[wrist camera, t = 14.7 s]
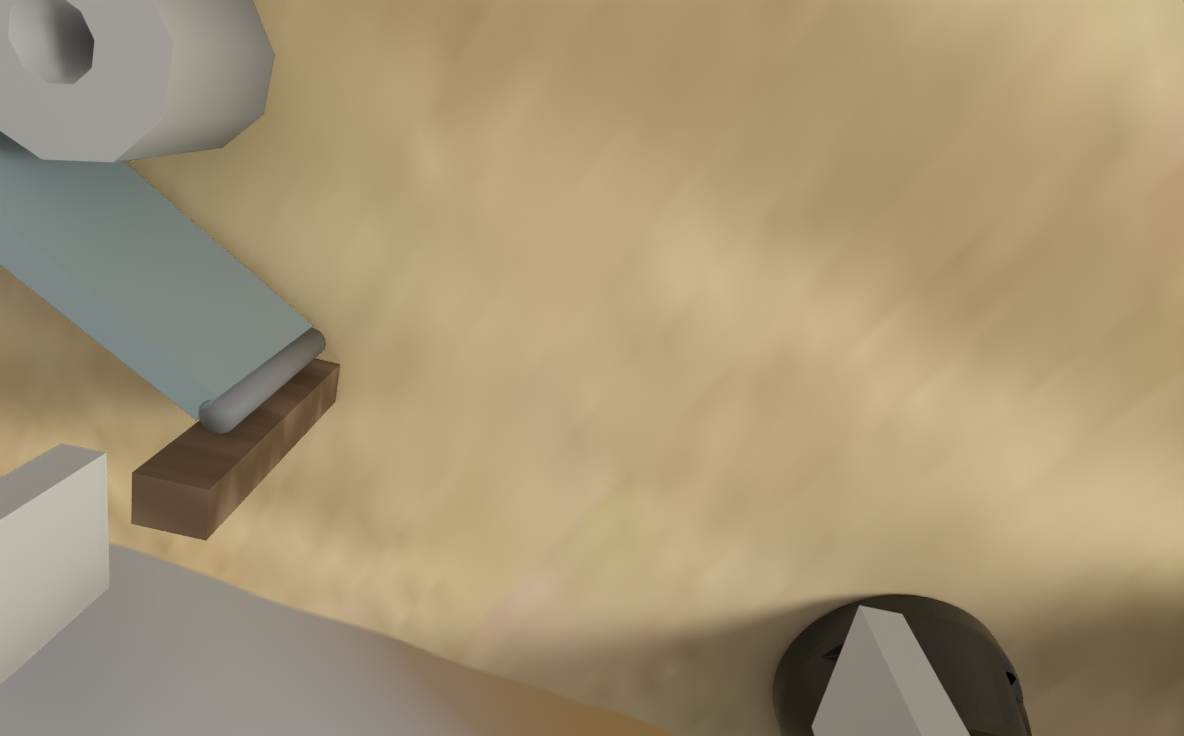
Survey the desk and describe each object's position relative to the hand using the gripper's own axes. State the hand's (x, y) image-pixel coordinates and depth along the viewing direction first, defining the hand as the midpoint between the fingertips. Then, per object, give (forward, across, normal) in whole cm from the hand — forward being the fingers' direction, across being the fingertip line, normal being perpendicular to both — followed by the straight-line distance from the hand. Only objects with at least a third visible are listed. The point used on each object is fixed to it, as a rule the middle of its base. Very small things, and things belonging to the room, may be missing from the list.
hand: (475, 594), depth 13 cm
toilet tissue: (+28, +22, -8) cm, 36 cm away
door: (+27, +23, +2) cm, 35 cm away
